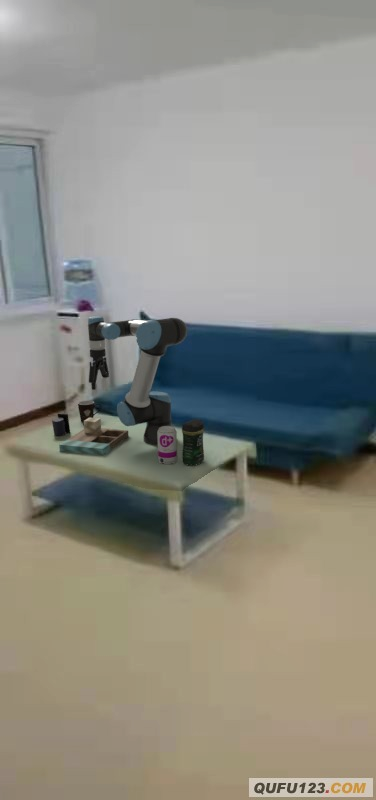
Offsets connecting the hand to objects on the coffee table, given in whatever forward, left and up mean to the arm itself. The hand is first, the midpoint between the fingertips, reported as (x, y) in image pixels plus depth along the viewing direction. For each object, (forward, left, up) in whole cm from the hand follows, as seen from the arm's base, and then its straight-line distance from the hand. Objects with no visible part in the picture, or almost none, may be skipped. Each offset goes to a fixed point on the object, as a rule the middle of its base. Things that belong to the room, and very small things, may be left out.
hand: (99, 393), depth 308 cm
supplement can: (-46, +32, -20) cm, 60 cm away
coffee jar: (-57, +30, -20) cm, 68 cm away
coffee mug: (+15, -15, -20) cm, 29 cm away
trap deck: (-5, +18, -20) cm, 27 cm away
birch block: (0, +10, -17) cm, 20 cm away
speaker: (+18, +10, -20) cm, 28 cm away
